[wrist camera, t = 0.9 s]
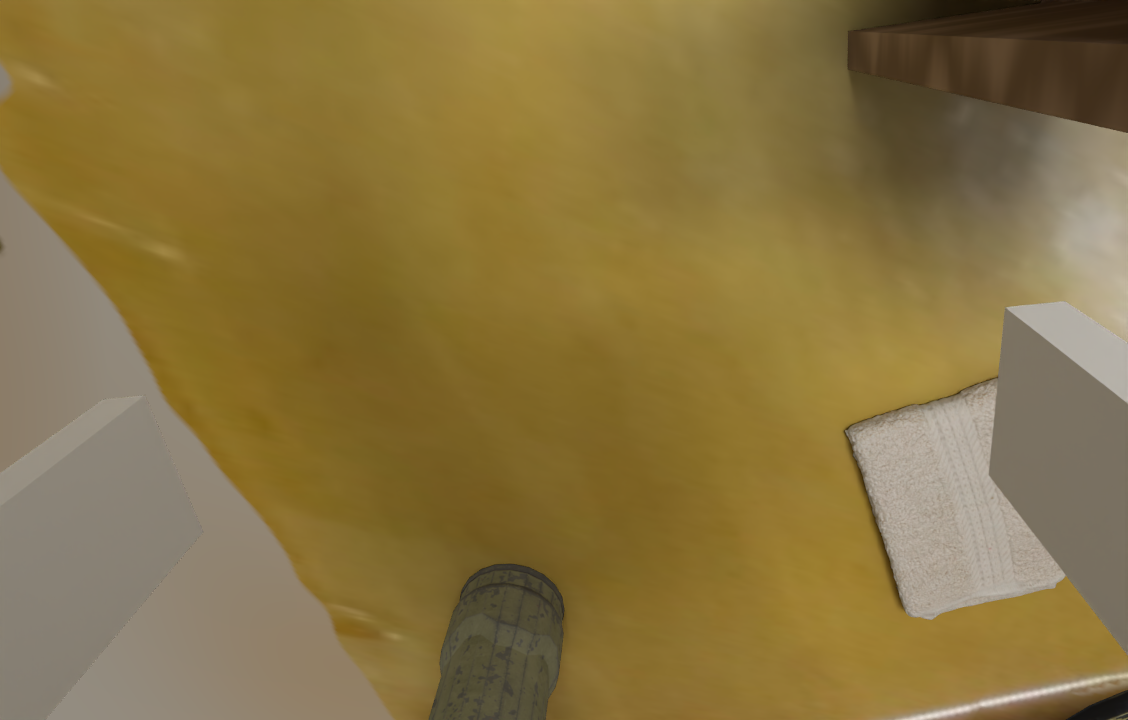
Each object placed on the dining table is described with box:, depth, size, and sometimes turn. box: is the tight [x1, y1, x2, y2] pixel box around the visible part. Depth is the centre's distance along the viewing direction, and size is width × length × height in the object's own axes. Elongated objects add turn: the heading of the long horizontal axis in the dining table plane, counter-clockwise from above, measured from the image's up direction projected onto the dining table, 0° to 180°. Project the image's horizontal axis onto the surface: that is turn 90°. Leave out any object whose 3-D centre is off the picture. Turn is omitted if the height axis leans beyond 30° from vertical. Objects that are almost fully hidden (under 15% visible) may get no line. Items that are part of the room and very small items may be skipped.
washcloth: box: [845, 378, 1066, 620], centre depth 52 cm, size 12×18×3 cm, turn 24°
